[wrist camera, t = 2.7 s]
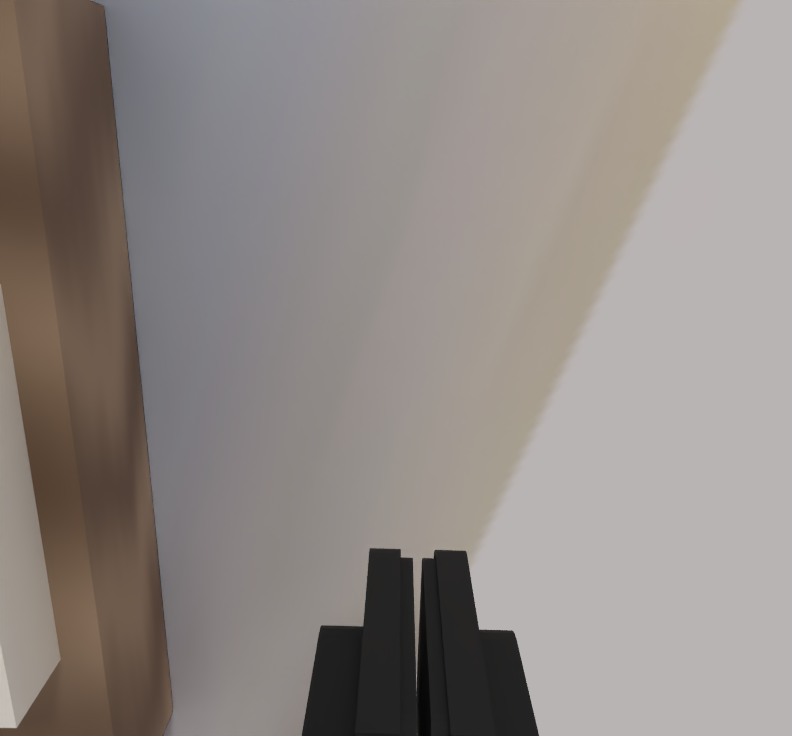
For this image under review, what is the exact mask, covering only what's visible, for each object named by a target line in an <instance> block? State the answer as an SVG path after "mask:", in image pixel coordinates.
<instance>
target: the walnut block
mask: <svg viewBox="0 0 792 736" xmlns="http://www.w3.org/2000/svg"><path fill="white" fill-rule="evenodd" d="M0 284H1V288H2V294H3V300H4V307H5V313H6V319H7V325H8V332H9V338H10V344H11V351H12V357H13V363H14V369H15V376H16V382H17V388H18V395H19V401H20V407H21V413H22V420H23V426H24V432H25V438H26V445H27V451H28V457H29V464H30V470H31V476H32V482H33V489H34V495H35V501H36V508H37V514H38V520H39V526H40V533H41V539H42V545H43V551H44V558H45V564H46V570H47V577H48V583H49V589H50V595H51V602H52V608H53V614H54V621H55V627H56V633H57V639H58V646H59V652H60V658H61V660H60V661H59V663H58V664H57V666H56V667H55V669H54V671H53V672H52V674H51V675H50V677H49V678H48V680H47V682H46V683H45V685H44V686H43V688H42V689H41V691H40V692H39V694H38V696H37V697H36V699H35V700H34V702H33V703H32V705H31V707H30V708H29V710H28V711H27V713H26V714H25V716H24V717H23V719H22V721H21V722H20V724H19V725H18V727H17V728H0V736H163V735H164V732H165V730H166V727H167V725H168V722H169V719H170V717H171V714H172V712H173V705H172V695H171V685H170V674H169V664H168V654H167V644H166V634H165V623H164V613H163V603H162V593H161V583H160V572H159V562H158V552H157V542H156V532H155V521H154V511H153V501H152V491H151V481H150V471H149V460H148V450H147V440H146V430H145V420H144V409H143V399H142V389H141V379H140V369H139V358H138V348H137V338H136V328H135V318H134V307H133V297H132V287H131V277H130V267H129V256H128V246H127V236H126V226H125V216H124V205H123V195H122V185H121V175H120V165H119V155H118V144H117V134H116V124H115V114H114V104H113V93H112V83H111V73H110V63H109V53H108V42H107V32H106V22H105V12H104V6H102V5H100V4H97V3H95V2H93V1H90V0H0Z"/></svg>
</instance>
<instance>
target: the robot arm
mask: <svg viewBox="0 0 792 736" xmlns="http://www.w3.org/2000/svg"><path fill="white" fill-rule="evenodd" d="M302 736H539V734H538V730H537V726H536V721H535V717H534V713H533V708H532V704H531V700H530V695H529V691H528V687H527V683H526V678H525V674H524V670H523V666H522V661H521V657H520V653H519V648H518V644H517V640H516V637H515V634H514V632H513V631H507V630H506V631H505V630H504V631H503V630H479V627H478V621H477V615H476V608H475V602H474V597H473V590H472V584H471V577H470V571H469V565H468V558H467V553H466V551H451V550H435V551H434V559H432V558H423V559H422V574H421V597H420V621H419V644H418V667H417V698H416V661H415V624H414V587H413V558H401V549H376V548H370V551H369V563H368V576H367V588H366V601H365V613H364V626H363V627H359V626H321V628H320V632H319V638H318V643H317V649H316V655H315V661H314V667H313V673H312V679H311V685H310V691H309V696H308V702H307V708H306V714H305V720H304V726H303V732H302Z"/></svg>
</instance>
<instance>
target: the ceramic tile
mask: <svg viewBox="0 0 792 736" xmlns="http://www.w3.org/2000/svg"><path fill="white" fill-rule="evenodd" d="M60 660H61V658H60V652H59V646H58V639H57V633H56V627H55V621H54V614H53V608H52V602H51V595H50V589H49V583H48V577H47V570H46V564H45V558H44V551H43V545H42V539H41V533H40V526H39V520H38V514H37V508H36V501H35V495H34V489H33V482H32V476H31V470H30V464H29V457H28V451H27V445H26V438H25V432H24V426H23V420H22V413H21V407H20V401H19V395H18V388H17V382H16V376H15V369H14V363H13V357H12V351H11V344H10V338H9V332H8V325H7V319H6V313H5V307H4V300H3V294H2V288H1V284H0V728H17V727H18V725H19V724H20V722H21V721H22V719H23V717H24V716H25V714H26V713H27V711H28V710H29V708H30V707H31V705H32V703H33V702H34V700H35V699H36V697H37V696H38V694H39V692H40V691H41V689H42V688H43V686H44V685H45V683H46V682H47V680H48V678H49V677H50V675H51V674H52V672H53V671H54V669H55V667H56V666H57V664H58V663H59V661H60Z"/></svg>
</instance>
